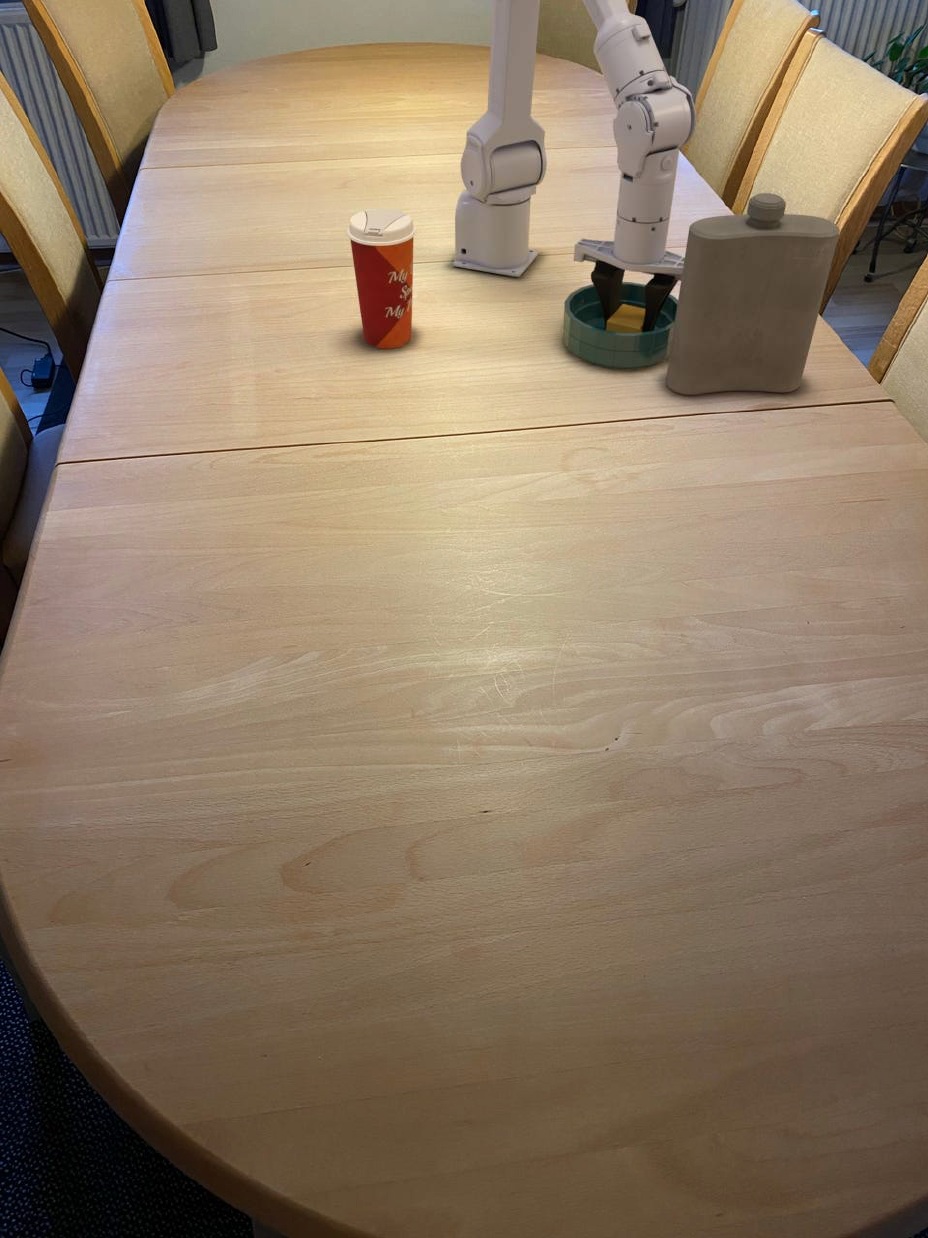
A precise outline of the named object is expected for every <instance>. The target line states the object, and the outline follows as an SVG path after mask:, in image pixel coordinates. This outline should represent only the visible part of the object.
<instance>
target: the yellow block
mask: <svg viewBox="0 0 928 1238" xmlns="http://www.w3.org/2000/svg"><path fill="white" fill-rule="evenodd" d="M644 316H645V309H643V308H639V307H634V306H630V305H625V304H623V305H622V306H621V307H620V308H619V309H618V310H617V311H616V312H615V313H614V314H613V315H612V316H611V317H610V318H609V320H608V321H607V326H606V331H612V332H617V333H641V332H642V331H643V322H644Z"/></svg>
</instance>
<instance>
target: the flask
mask: <svg viewBox="0 0 928 1238" xmlns="http://www.w3.org/2000/svg"><path fill="white" fill-rule="evenodd" d="M786 206H787V201H786V200H785V199H784V198H783V197H782V196H780V195H778V194H776V193H770V192H762V193H757V194H755V195H753V196H752V197H750V198H749V200H748V203H747V208H746V209H747V210H746V213H745V214H743V213H742V214H729V215H717V216H710V217H709V216H708V217H705V218H701V219H698V220H696V221H694V222H692V223H691V224H690V225H689V227H688V228H689V229H688V234H687V240H686V241H687V242H686V248H685V253H684V257H685V259H684V266H683V272H682V279H681V281H680V287H679V292H678V298H677V300H678V305H677V311H676V318H675V324H674V330H673V337H672V343H671V350H670V356H669V358H668V364H667V370H666V376H665V384H666V385H667V387H668V388H669V389H670V390H672V391H673V392H675V393H676V394H680V395H683V396H698V395H704V394H710V393H721V392H745V391H747V392H765V393H767V392H768V393H777V394H778V393H779V394H784V393H791V392H794V391H795V390H797V389H799V388H800V386H801V383H802V379H803V375H804V371H805V367H806V365H807V364H806V363H807V360H808V356H809V352H810V348H811V344H812V341H813V337H814V333H815V328H816V325H817V321H818V317H819V314H820V309H821V307H822V302H823V298H824V295H825V290H826V286H827V282H828V279H829V275H830V271H831V267H832V263H833V259H834V256H835V252H836V248H837V244H838V241H839V237H840V234H841V233H840V232H841V229H840V227H839V226H838V225H837V224H836V223H835V222H833V221H832V220H830V219H827V218H824V217H819V216H814V215H805V214H792V213H791V214H789V213H788V214H787V213H785V211H786Z"/></svg>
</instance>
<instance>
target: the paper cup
mask: <svg viewBox="0 0 928 1238" xmlns="http://www.w3.org/2000/svg"><path fill="white" fill-rule="evenodd" d="M416 234H417V228H416V226H415V225H414V222H413V219H412V217H411V215H410V214H409V213H407V212H405V211H402V210H399V209H395V208H386V207H385V208H383V207H382V208H381V207H380V208H379V207H378V208H372V209H365V210H362V211H359V212H356V213H355V214H354V215H352V216H351V218H350V219H349V226H348V227H347V230H346V235H347V237H348V238H349V240H350V246H351V253H352V254H351V255H352V262H353V270H354V276H355V283H356V284H355V285H356V292H357V298H358V304H359V313H360V318H361V326H362V332H363V337H364V340H365V343H366V344H368V345H369V346H371V347H373V348H376V349H377V348H378V349H396V348H399V347H400V348H401V347H403V346H404V345H406V344H408V343H409V342H410V341H411V338H412V326H413V324H412V323H413V291H414V289H413V287H414V286H413V285H414V284H413V283H414V282H413V281H414V238H415V235H416Z"/></svg>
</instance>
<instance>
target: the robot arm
mask: <svg viewBox="0 0 928 1238" xmlns="http://www.w3.org/2000/svg"><path fill="white" fill-rule="evenodd" d="M582 2H583V4H584V6H585V8H586V11H587V13H588V14H589V16H590V18H591V21H592V22H593V24H594V26H595V28H596V30H597V34H596V37H595V41H594V44H593V49H592V50H593V54H594V57H595V59H596V61H597V64H598V66H599V68H600V71H601V73H602V76H603V79H604V81H605V84H606V86H607V89H608V92H609V93H610V95H611V96H610V97H611V98H612V101H613V103H614V106H615V107H616V110H617V113H616V117H614V118H613V119H612V131H613V132H612V133H613V136H614V141H615V143H616V147H617V158H616V163H617V164H618V170H619V171H620V178H619V187H618V196H617V197H618V198H617V206H616V207H617V208H616V216H615V227H614V236H613V240H598V239H587V238H583V237H581V239H579V240H578V241H577V242H576V243H575V244H574V252H573V261H574V262H577V263H578V262H579V263H583V262H584V261H585V262H591V263H595V264H594V265H595V266H594V268H593V270H592V271H591V273H590V281H591V284H594V286H595V288H596V291H597V293H598V296H599V299H600V302H601V306H602V310H603V315H604V322H605V329H606V326H607V321H608V320H609V318H610V317H611V316H612V315H613V314H614V313H615V312H616V311H617V310H618V309H619V303H620V292H621V287H622V282H624V281H623V280H624V276H625V272H626V271H628V272H636V273H642V274H645V275H652V276H653V277H652V278H651V279H650V280H648V282H647V283H646V284H644V285H645V316H644V322H643V331H642V332H650V331H654V328H655V325H656V322H657V319H658V316H659V314H660V312H661V310H662V308H663V306H664V304H665V302H666V300H667V298H668V296H669V295H670V294H671V293H672V291H673V290H674V288H675V287H676V285H677V283H678V282H681V279H682V272H683V266H684V259H685V256H682V255H680V254H678V253H675V252H672V251H670V250H668V249H667V241H668V235H669V228H670V219H671V214H672V207H673V200H674V191H675V185H676V177H677V171H678V162H679V156H680V148H682V147H684V146H686V145H687V144H688V143H689V142H690V141H691V139H692V137H693V135H694V133H695V129H696V124H697V112H696V111H697V110H696V105H695V102H694V100H693V95H692V93H691V91H690V90H688V88H687V87H686V86H685V85H682V84H680V83H678V81H677V80H676V77H675V76H674V77H673V75H669V74H668V71H667V69H666V67H665V65H664V62H663V59H662V57H661V55H660V52H659V49H658V47H657V45H656V43H655V40H654V38H653V35H652V32H651V30H650V27H649V24H648V23H647V21H646V19H645V18H644V17H642V16H639V15H636V14H633V13H631V12H630V9H629V6H628V4H627V0H582ZM540 4H541V0H492V14H491V15H492V17H491V19H492V20H491V21H492V22H491V35H490V38H491V39H490V57H489V74H488V92H487V94H488V95H487V110H486V111H485V112H484V114H482V115H481V117H480V118H479V119H477V121H476V122H474V123H473V124H472V125H471V127H469V128H468V130H467V131H466V137H465V138H466V139H465V146H464V150H463V152H462V155H461V159H460V175H461V176H460V177H461V180H462V183H463V186H464V188H465V189H463V190H462V192H461V193H460V195H459V197H458V199H457V202H456V207H455V215H454V250H455V251H454V253H455V254H454V258H455V259H454V261H453V262H452V264H453V266H454V267H456V268H457V267H458V268H463V269H468V270H475V271H478V272H479V271H480V272H485V273H491V274H496V275H502V276H509V277H515V278H519V277H521V276H522V275H523V273H524V272H525V271H526V270H527V268H529V266H530V265H531V264H532V263H533V262H534V261H535V259H536V258H537V257H538V256H539V252H538V250H533V249H529V245H530V227H531V226H530V225H531V224H530V222H531V219H530V218H531V203H532V202H531V200H532V196H533V195H536V194H537V186H539V185H540V184H541V183H542V182H544V179H545V176H546V172H547V169H548V168H547V167H548V166H547V165H548V159H547V153H546V147H545V138H546V137H545V136H546V131H545V129H544V127H543V126H542V125H541V124H540V123H539V122H538V121H537V120H536V119H535V118H534V117H532V115H531V114H532V103H533V91H534V78H535V65H536V56H537V55H536V54H537V44H538V43H537V42H538V30H539V17H540V6H541V5H540Z"/></svg>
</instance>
